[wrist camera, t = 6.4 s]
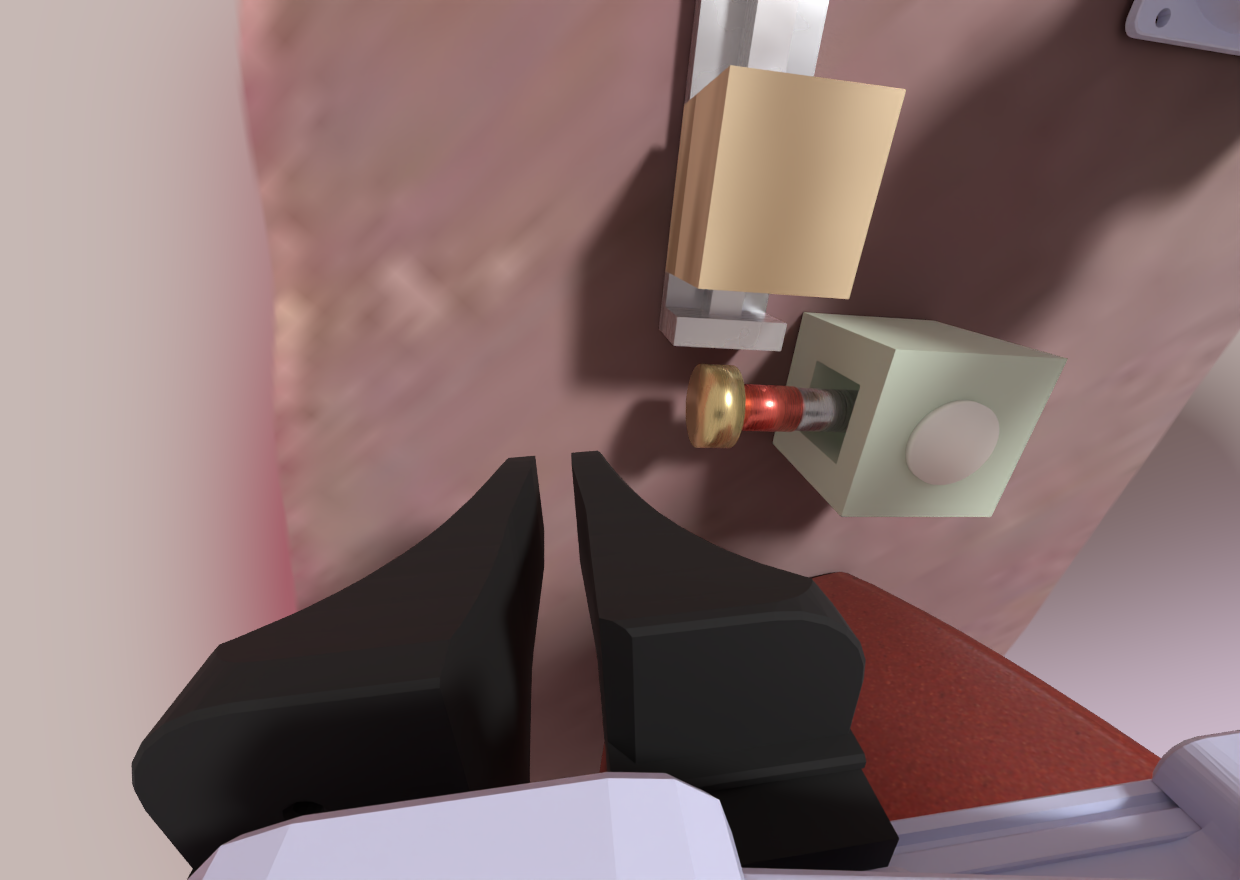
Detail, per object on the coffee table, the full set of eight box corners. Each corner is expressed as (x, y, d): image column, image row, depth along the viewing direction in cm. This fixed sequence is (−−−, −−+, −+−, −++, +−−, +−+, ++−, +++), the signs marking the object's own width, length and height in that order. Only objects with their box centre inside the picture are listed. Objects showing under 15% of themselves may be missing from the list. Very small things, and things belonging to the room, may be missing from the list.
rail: (861, -220, 13) (932, -320, 11) (752, 333, 20) (781, 351, 17) (724, -252, 13) (765, -366, 10) (658, 328, 19) (673, 345, 17)
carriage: (816, 121, 16) (906, 88, 12) (783, 279, 18) (848, 299, 14) (684, 104, 15) (730, 65, 11) (665, 270, 17) (698, 288, 13)
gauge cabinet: (934, 320, 21) (1076, 361, 15) (890, 445, 23) (997, 521, 17) (803, 312, 20) (902, 351, 14) (772, 443, 22) (846, 521, 17)
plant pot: (915, 502, 25) (1472, 952, 10) (892, 726, 33) (1171, 1155, 18) (556, 586, 24) (553, 1193, 9) (625, 792, 33) (682, 1285, 18)
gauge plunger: (859, 362, 19) (909, 387, 16) (838, 431, 20) (881, 465, 17) (692, 354, 18) (716, 379, 15) (681, 427, 19) (702, 462, 16)
